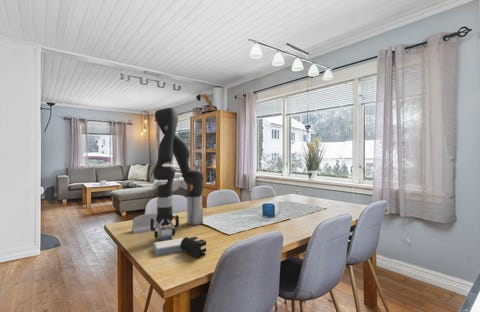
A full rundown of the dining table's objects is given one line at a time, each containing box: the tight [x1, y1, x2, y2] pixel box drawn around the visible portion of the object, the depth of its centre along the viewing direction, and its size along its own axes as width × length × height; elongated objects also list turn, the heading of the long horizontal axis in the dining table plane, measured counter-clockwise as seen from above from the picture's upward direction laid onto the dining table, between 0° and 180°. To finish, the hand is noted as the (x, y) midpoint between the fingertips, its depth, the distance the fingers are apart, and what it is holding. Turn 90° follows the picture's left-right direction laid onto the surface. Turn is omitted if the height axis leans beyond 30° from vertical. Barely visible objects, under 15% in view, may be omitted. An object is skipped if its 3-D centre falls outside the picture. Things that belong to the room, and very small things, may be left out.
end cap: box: [181, 236, 207, 259], centre depth 110 cm, size 10×7×7 cm
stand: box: [152, 237, 184, 257], centre depth 116 cm, size 14×9×3 cm, turn 117°
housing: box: [157, 224, 173, 242], centre depth 128 cm, size 5×10×8 cm, turn 27°
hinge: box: [131, 213, 158, 234], centre depth 145 cm, size 17×5×10 cm, turn 122°
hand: (164, 237), depth 128 cm, fingers open, 7 cm apart
